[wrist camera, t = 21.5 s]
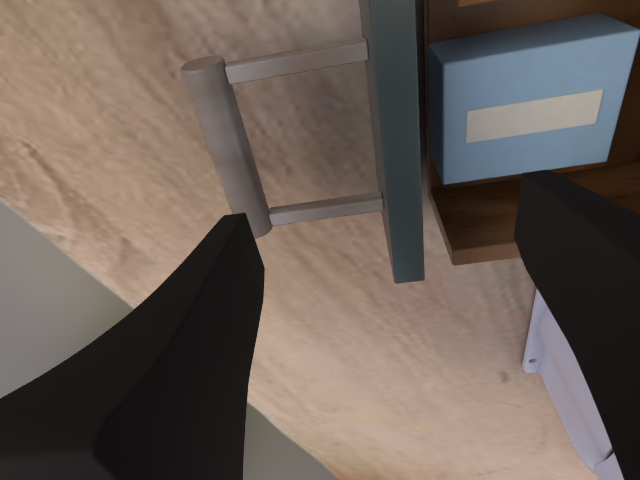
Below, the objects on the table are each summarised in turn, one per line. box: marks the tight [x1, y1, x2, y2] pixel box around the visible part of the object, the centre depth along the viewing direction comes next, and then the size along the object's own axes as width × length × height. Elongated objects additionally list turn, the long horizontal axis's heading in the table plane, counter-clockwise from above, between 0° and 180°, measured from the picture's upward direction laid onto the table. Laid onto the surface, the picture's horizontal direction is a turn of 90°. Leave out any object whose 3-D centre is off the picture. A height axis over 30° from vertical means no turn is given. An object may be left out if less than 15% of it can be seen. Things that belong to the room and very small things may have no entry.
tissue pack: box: [428, 13, 640, 184], centre depth 16 cm, size 5×6×3 cm
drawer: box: [180, 0, 640, 284], centre depth 16 cm, size 20×11×5 cm, turn 100°
